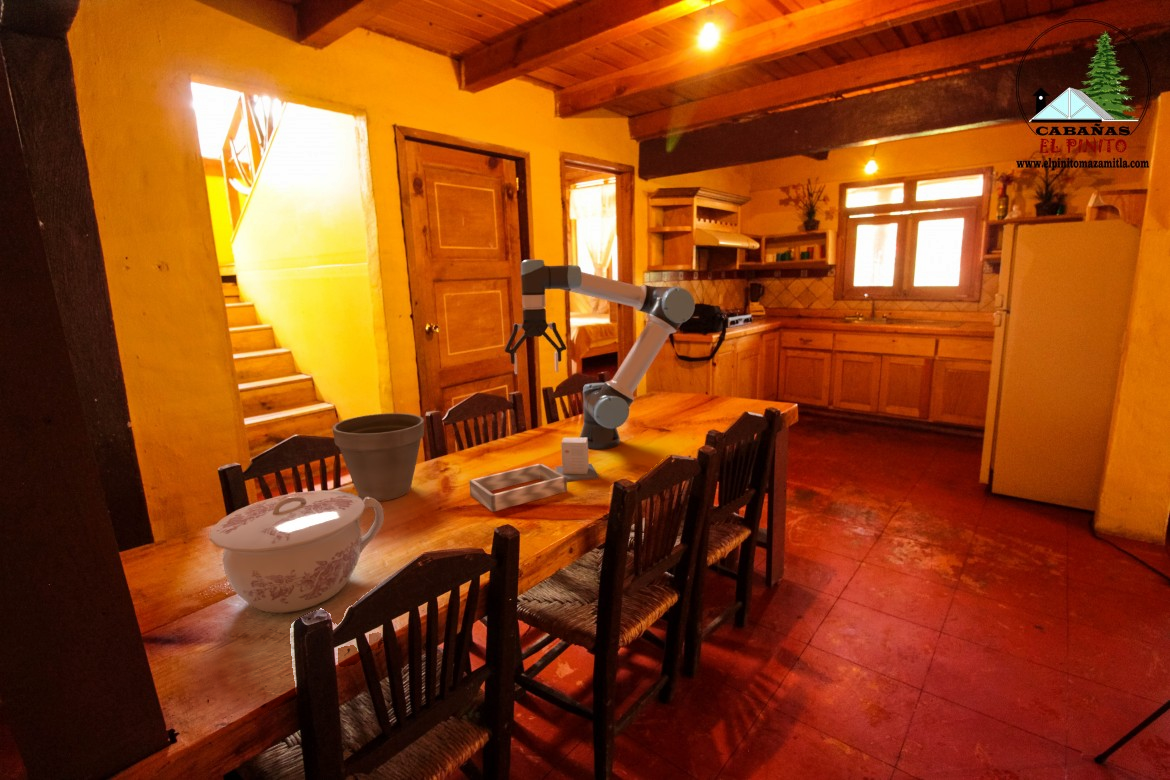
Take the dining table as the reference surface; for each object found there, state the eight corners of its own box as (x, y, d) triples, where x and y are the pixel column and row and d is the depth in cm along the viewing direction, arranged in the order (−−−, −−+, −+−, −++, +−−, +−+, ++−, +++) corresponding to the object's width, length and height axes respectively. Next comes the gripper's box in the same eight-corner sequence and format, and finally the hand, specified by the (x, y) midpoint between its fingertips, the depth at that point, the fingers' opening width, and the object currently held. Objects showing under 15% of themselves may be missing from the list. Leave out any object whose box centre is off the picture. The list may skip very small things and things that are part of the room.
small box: (588, 468, 180) (588, 437, 178) (587, 474, 175) (586, 442, 173) (564, 468, 181) (563, 436, 179) (562, 474, 175) (561, 442, 173)
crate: (541, 476, 176) (540, 463, 175) (567, 491, 164) (566, 476, 163) (470, 494, 162) (469, 480, 162) (492, 511, 150) (491, 496, 149)
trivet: (591, 465, 185) (591, 463, 185) (598, 478, 173) (598, 476, 173) (555, 468, 183) (555, 466, 183) (560, 481, 171) (560, 479, 171)
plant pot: (429, 473, 181) (423, 408, 176) (429, 502, 158) (423, 428, 153) (346, 482, 174) (339, 415, 170) (334, 514, 151) (325, 437, 147)
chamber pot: (188, 636, 100) (168, 530, 96) (271, 560, 127) (258, 474, 123) (343, 633, 100) (330, 526, 96) (394, 557, 127) (385, 471, 123)
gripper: (570, 306, 187) (571, 368, 191) (495, 308, 183) (498, 372, 187) (573, 307, 180) (575, 372, 184) (495, 310, 175) (499, 376, 180)
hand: (536, 372), depth 185 cm, fingers open, 13 cm apart
